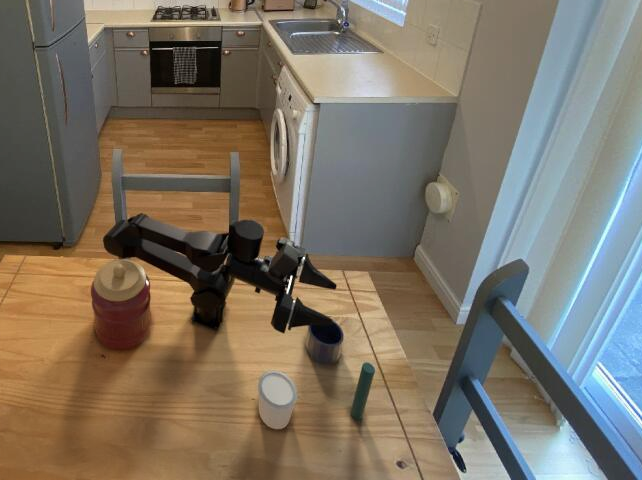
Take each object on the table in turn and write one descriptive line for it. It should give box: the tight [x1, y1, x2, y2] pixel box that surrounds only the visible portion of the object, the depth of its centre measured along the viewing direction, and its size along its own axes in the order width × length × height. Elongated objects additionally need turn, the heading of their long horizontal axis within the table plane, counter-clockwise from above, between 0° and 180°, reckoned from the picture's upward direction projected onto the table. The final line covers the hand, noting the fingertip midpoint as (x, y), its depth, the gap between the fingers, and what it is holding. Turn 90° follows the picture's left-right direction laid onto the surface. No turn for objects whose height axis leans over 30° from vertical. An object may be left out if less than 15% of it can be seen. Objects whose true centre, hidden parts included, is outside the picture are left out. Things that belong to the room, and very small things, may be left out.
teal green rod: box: [350, 361, 376, 421], centre depth 75 cm, size 2×2×13 cm
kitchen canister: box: [90, 258, 152, 351], centre depth 93 cm, size 13×13×18 cm
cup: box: [304, 320, 345, 365], centre depth 89 cm, size 7×7×6 cm
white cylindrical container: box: [257, 370, 298, 430], centre depth 77 cm, size 7×7×7 cm
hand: (334, 303), depth 81 cm, fingers open, 9 cm apart
